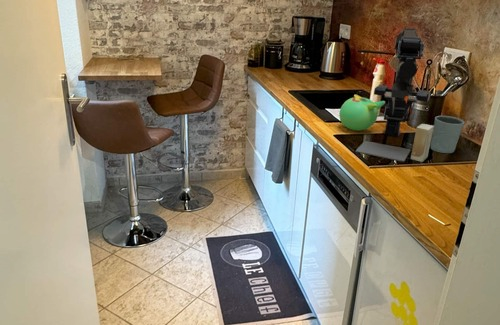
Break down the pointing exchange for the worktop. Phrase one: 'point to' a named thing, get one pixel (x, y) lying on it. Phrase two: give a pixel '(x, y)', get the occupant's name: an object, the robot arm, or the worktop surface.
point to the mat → (383, 151)
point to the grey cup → (446, 133)
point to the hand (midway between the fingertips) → (397, 115)
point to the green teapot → (359, 113)
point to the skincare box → (422, 142)
